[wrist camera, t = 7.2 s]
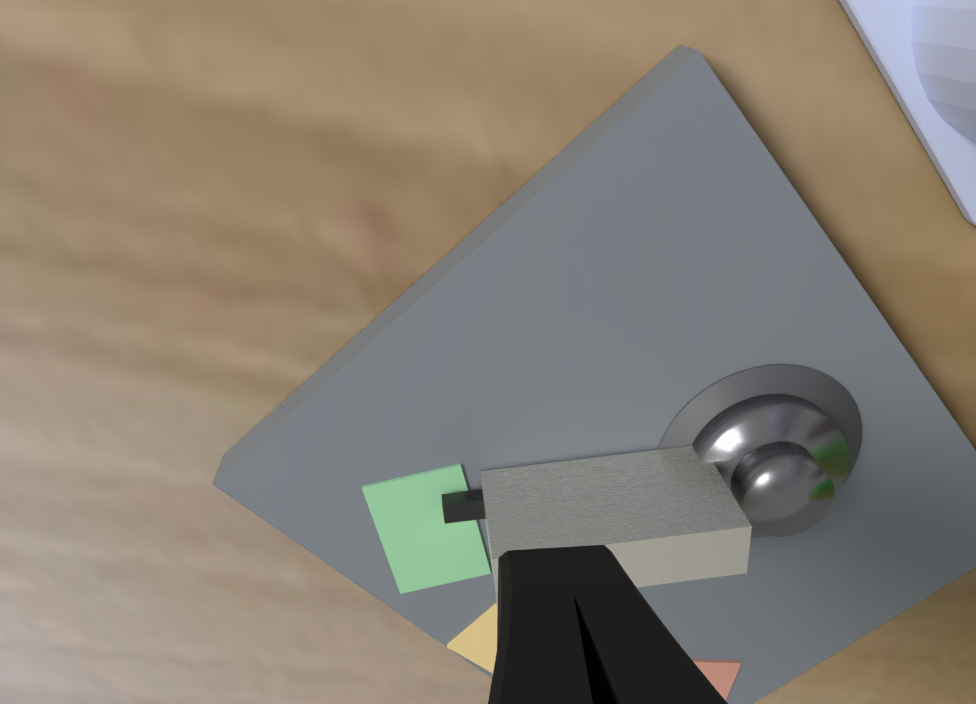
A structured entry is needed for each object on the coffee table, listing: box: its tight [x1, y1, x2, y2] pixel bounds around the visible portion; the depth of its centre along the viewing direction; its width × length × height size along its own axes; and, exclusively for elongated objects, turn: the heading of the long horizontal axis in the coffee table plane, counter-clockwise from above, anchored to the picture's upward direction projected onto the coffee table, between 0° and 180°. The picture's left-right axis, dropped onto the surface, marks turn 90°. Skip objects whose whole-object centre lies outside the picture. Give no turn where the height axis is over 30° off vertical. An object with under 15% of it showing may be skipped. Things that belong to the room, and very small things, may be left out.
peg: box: [442, 394, 849, 606], centre depth 18 cm, size 10×4×3 cm, turn 95°
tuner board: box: [212, 45, 976, 704], centre depth 21 cm, size 15×18×1 cm
